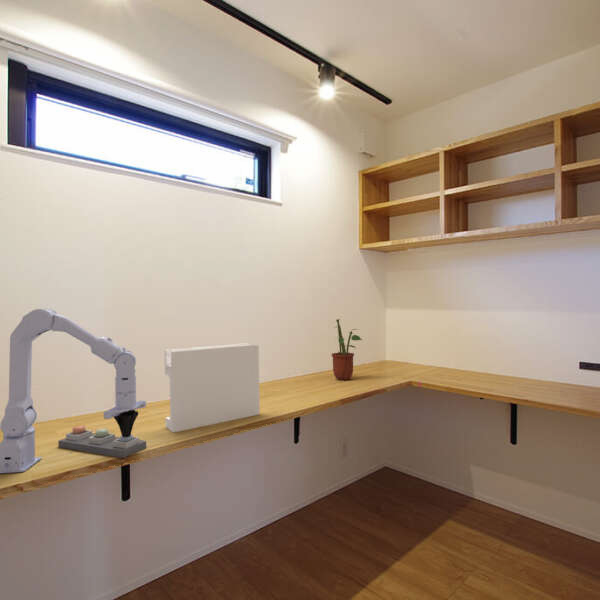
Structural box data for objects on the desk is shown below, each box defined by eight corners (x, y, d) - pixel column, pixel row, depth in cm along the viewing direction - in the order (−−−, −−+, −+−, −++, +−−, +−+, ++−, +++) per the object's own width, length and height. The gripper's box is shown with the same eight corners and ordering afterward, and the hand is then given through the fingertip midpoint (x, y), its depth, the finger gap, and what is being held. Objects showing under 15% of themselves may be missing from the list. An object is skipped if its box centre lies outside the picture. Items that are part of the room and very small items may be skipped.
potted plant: (334, 381, 223) (332, 319, 224) (329, 377, 239) (328, 319, 239) (364, 380, 225) (363, 319, 225) (358, 376, 240) (356, 318, 241)
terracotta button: (88, 430, 128) (88, 426, 128) (78, 434, 125) (78, 429, 125) (80, 429, 130) (80, 424, 130) (70, 432, 126) (70, 428, 126)
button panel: (146, 447, 123) (146, 435, 123) (123, 458, 114) (123, 445, 114) (83, 438, 133) (83, 427, 133) (58, 447, 125) (58, 435, 125)
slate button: (135, 440, 121) (135, 435, 121) (126, 443, 117) (126, 438, 118) (126, 438, 122) (126, 433, 122) (117, 442, 119) (116, 437, 119)
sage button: (110, 433, 125) (110, 429, 125) (101, 437, 121) (101, 432, 121) (102, 432, 126) (102, 428, 126) (92, 436, 123) (92, 431, 123)
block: (173, 432, 137) (172, 351, 138) (165, 427, 144) (164, 349, 144) (259, 414, 159) (258, 344, 159) (249, 410, 165) (248, 343, 165)
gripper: (116, 397, 112) (116, 446, 112) (153, 387, 125) (153, 430, 125) (98, 396, 115) (98, 443, 114) (136, 386, 128) (136, 428, 128)
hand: (126, 436), depth 120 cm, fingers closed, pressing on slate button
